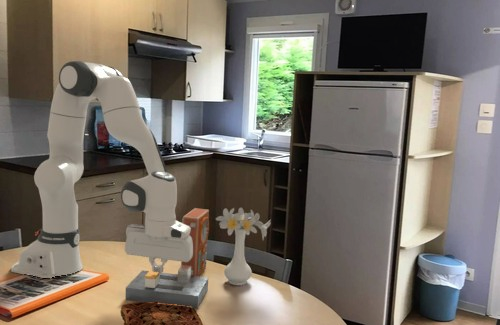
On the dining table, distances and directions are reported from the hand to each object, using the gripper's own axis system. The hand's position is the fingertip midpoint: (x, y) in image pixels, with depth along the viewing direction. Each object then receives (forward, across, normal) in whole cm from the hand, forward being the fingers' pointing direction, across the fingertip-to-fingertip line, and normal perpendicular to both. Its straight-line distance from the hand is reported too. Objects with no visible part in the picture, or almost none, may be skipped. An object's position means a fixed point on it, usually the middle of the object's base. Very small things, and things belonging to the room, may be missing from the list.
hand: (157, 271), depth 140 cm
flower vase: (+8, +22, +20) cm, 31 cm away
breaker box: (+9, +2, +4) cm, 10 cm away
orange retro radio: (+9, +5, +24) cm, 26 cm away
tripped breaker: (+4, -2, 0) cm, 5 cm away
